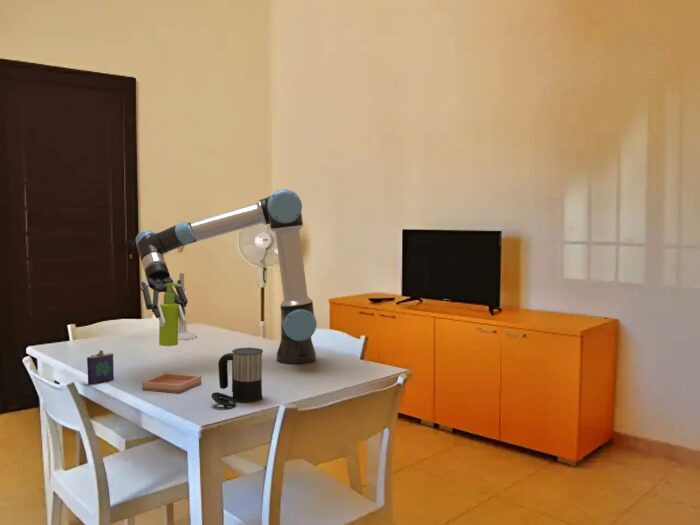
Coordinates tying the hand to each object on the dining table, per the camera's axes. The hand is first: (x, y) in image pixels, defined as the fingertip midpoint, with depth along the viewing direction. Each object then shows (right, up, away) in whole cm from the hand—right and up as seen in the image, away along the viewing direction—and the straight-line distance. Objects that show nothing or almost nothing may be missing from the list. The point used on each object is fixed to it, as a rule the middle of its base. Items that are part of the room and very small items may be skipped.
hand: (173, 323), depth 208 cm
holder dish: (-1, -20, +1) cm, 20 cm away
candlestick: (-20, -15, +87) cm, 90 cm away
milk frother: (+23, -22, -16) cm, 36 cm away
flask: (-26, -20, +7) cm, 34 cm away
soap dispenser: (-2, -7, +4) cm, 8 cm away
